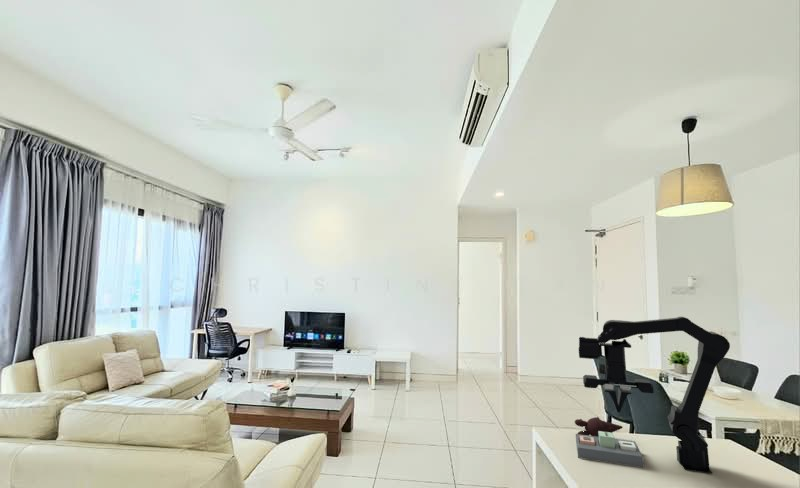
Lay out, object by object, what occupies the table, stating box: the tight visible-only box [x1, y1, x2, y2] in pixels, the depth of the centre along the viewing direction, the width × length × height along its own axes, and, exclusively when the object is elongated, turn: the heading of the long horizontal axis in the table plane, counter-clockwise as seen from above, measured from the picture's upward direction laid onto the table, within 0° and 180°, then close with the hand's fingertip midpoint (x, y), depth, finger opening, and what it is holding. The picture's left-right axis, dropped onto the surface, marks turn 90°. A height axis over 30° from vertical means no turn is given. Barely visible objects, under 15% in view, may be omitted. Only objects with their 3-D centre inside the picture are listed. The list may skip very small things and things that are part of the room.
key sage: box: [598, 431, 616, 448], centre depth 116 cm, size 4×4×4 cm
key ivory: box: [619, 441, 636, 451], centre depth 114 cm, size 4×4×4 cm
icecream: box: [574, 416, 623, 437], centre depth 128 cm, size 7×7×15 cm
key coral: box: [580, 436, 595, 446], centre depth 118 cm, size 4×4×4 cm
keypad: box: [575, 433, 645, 468], centre depth 116 cm, size 17×11×3 cm, turn 68°
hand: (618, 411), depth 117 cm, fingers closed
